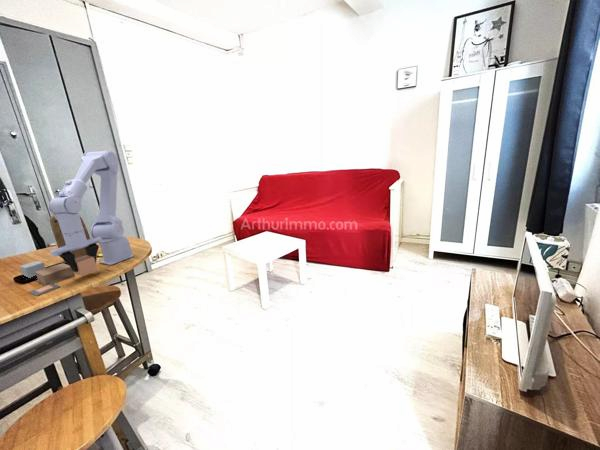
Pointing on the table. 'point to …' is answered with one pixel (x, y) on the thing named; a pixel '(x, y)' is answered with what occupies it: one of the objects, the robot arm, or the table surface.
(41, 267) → the grey cube
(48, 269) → the walnut base
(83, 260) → the terracotta cube
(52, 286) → the card
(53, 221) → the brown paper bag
